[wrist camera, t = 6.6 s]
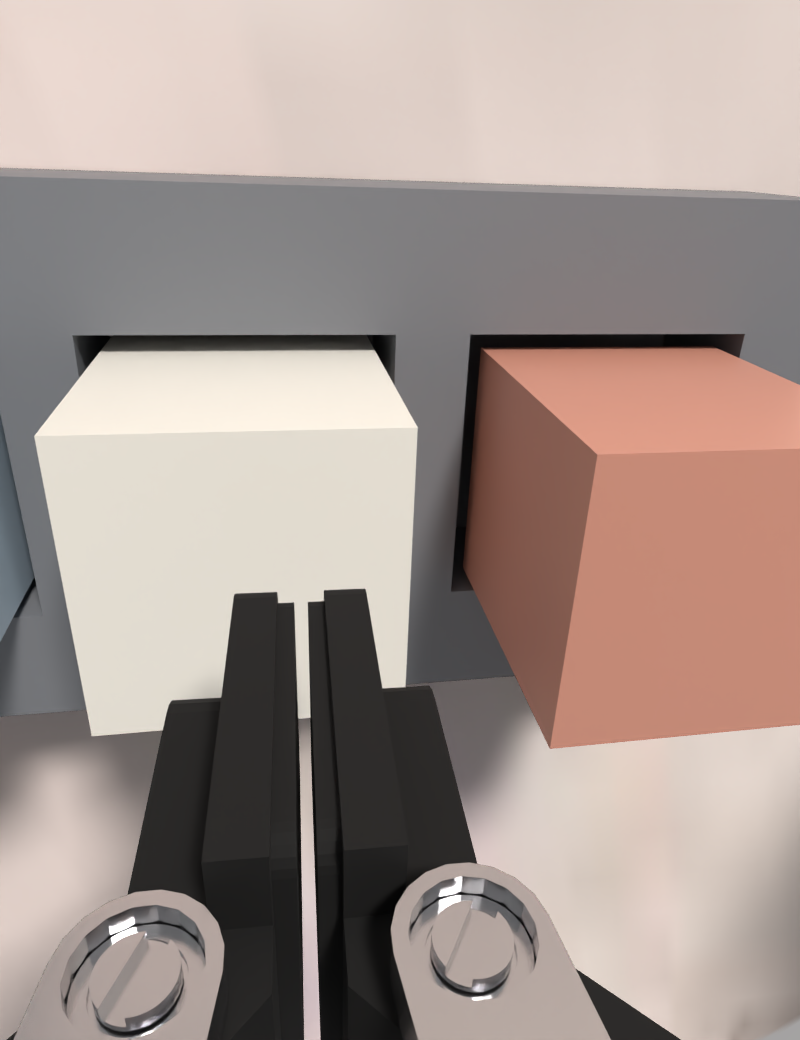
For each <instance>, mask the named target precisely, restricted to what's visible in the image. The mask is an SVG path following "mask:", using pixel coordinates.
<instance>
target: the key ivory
mask: <svg viewBox="0 0 800 1040" xmlns="http://www.w3.org/2000/svg"><path fill="white" fill-rule="evenodd" d="M417 432H418V427H417V425H416V424H415V422H414V420H413V418H412V416H411V415H410V413H409V411H408V409H407V407H406V406H405V404H404V402H403V400H402V398H401V397H400V395H399V393H398V391H397V389H396V388H395V386H394V384H393V382H392V380H391V379H390V377H389V375H388V373H387V371H386V370H385V368H384V366H383V364H382V362H381V361H380V359H379V357H378V355H377V353H376V352H375V350H374V348H373V346H372V344H371V343H370V341H369V339H368V337H367V335H112V337H111V338H110V339H109V341H108V342H107V343H106V344H105V346H104V347H103V348H102V350H101V351H100V352H99V353H98V355H97V356H96V357H95V359H94V360H93V361H92V362H91V364H90V365H89V366H88V368H87V369H86V370H85V371H84V373H83V374H82V375H81V377H80V378H79V379H78V380H77V382H76V383H75V384H74V386H73V387H72V388H71V389H70V391H69V392H68V393H67V395H66V396H65V397H64V398H63V400H62V401H61V402H60V404H59V405H58V406H57V407H56V409H55V410H54V411H53V413H52V414H51V415H50V416H49V418H48V419H47V420H46V422H45V423H44V424H43V425H42V427H41V428H40V429H39V431H38V432H37V433H36V434H35V436H34V438H35V443H36V448H37V454H38V459H39V464H40V469H41V474H42V480H43V485H44V490H45V495H46V501H47V506H48V511H49V516H50V521H51V527H52V532H53V537H54V542H55V547H56V553H57V558H58V563H59V568H60V573H61V579H62V584H63V589H64V594H65V599H66V605H67V610H68V615H69V620H70V626H71V631H72V636H73V641H74V646H75V652H76V657H77V662H78V667H79V672H80V678H81V683H82V688H83V693H84V698H85V704H86V709H87V714H88V719H89V724H90V730H91V735H92V736H102V735H114V734H125V733H137V732H149V731H161V730H163V727H164V722H165V718H166V713H167V710H168V706H169V704H170V702H171V701H172V700H187V699H205V698H221V696H222V688H223V680H224V671H225V663H226V655H227V647H228V639H229V630H230V622H231V614H232V606H233V598H234V594H237V593H263V592H277V594H278V603H292V602H294V610H295V640H296V670H297V701H298V719H302V718H310V679H309V636H308V602H317V601H324V590H340V589H366V593H367V599H368V605H369V611H370V617H371V623H372V629H373V635H374V641H375V647H376V653H377V659H378V665H379V671H380V677H381V683H382V688H399V687H405V686H406V665H407V644H408V623H409V602H410V580H411V559H412V538H413V517H414V496H415V475H416V453H417Z"/></svg>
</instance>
